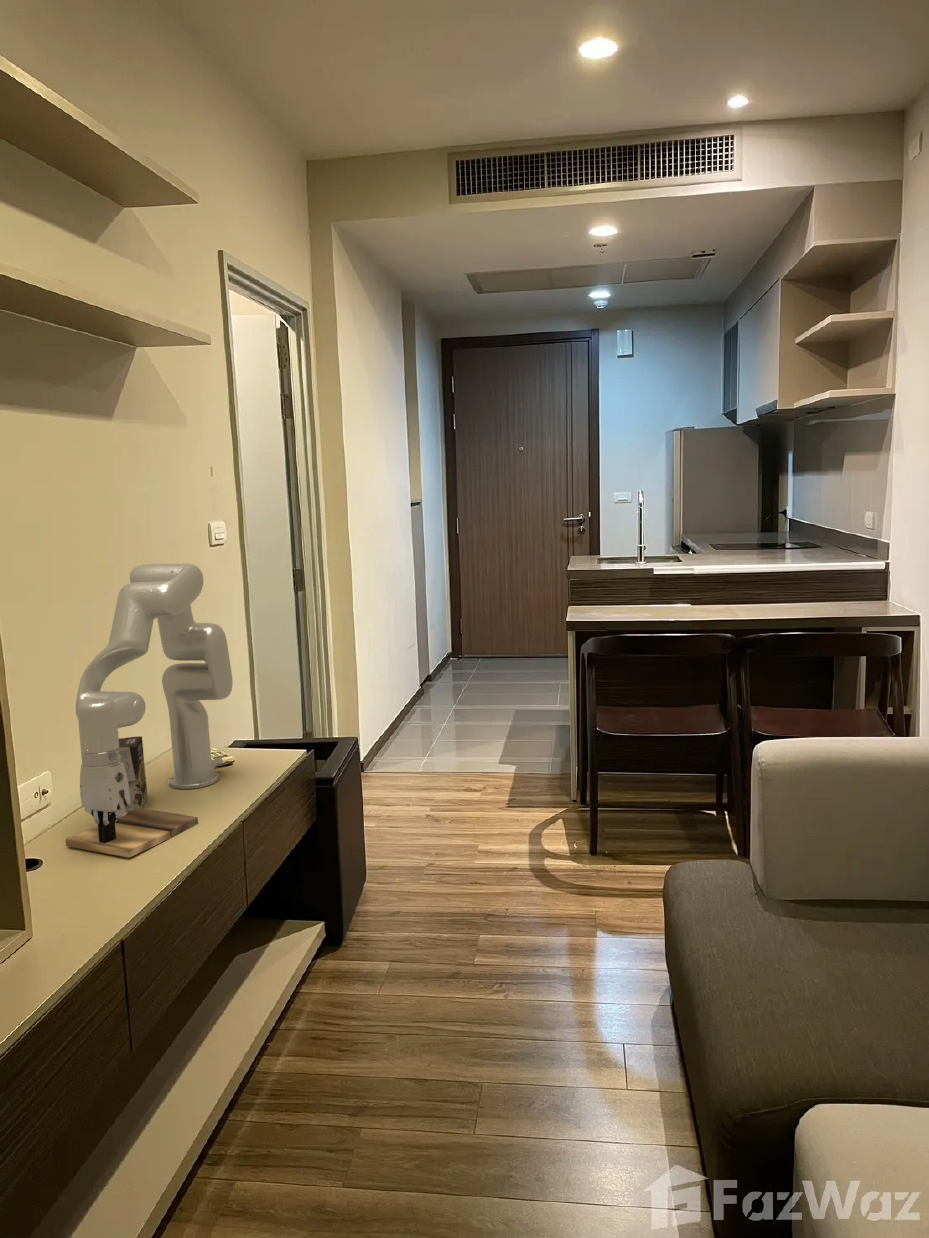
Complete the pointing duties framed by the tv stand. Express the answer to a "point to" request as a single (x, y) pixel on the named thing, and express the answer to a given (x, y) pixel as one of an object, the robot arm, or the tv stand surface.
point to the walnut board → (158, 820)
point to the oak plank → (119, 840)
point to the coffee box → (134, 770)
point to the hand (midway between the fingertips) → (107, 840)
